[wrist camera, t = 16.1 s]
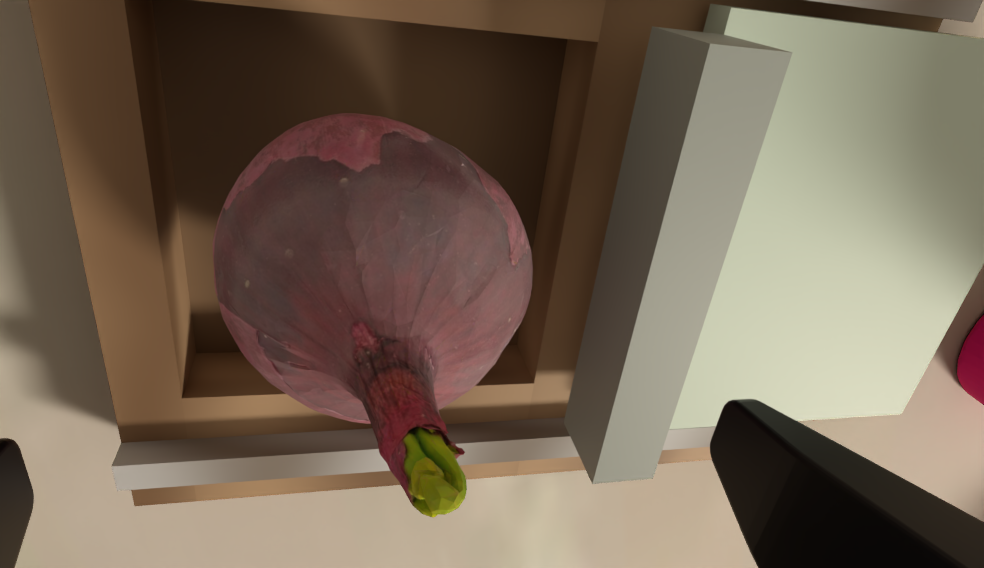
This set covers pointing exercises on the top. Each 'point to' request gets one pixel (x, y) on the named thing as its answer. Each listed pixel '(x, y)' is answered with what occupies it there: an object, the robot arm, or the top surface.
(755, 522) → the robot arm
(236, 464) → the wooden container
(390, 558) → the top surface
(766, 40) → the lid
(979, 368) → the pepper mill
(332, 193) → the vegetable
